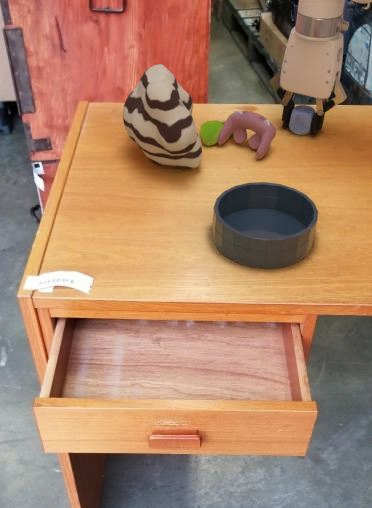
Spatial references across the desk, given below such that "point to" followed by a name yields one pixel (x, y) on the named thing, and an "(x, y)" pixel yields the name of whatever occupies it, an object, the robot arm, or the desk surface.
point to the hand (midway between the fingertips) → (301, 128)
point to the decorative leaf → (211, 132)
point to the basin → (264, 224)
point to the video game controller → (250, 121)
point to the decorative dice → (301, 119)
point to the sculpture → (163, 120)
